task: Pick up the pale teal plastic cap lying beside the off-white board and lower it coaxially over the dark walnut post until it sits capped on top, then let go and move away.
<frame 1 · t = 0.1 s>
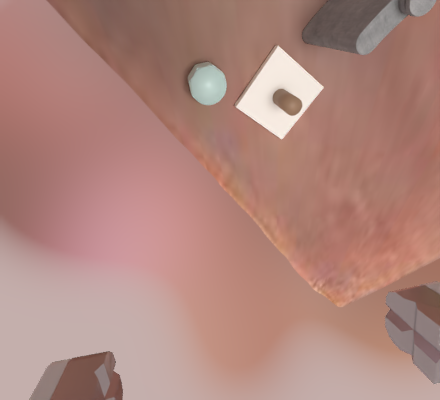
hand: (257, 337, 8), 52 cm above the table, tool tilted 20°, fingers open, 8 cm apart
post stand: (277, 95, 57), on the table
hip flask: (338, 4, 50), on the table
cap: (205, 81, 53), on the table
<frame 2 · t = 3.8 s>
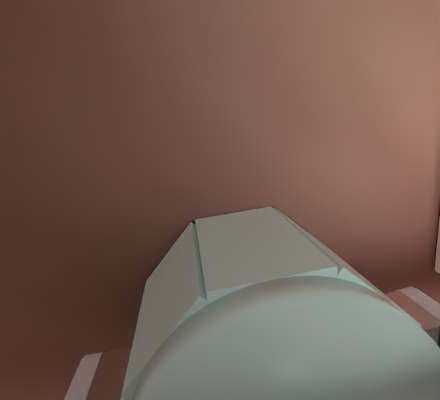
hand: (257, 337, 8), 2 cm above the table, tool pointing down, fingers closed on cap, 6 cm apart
cap: (243, 297, 10), on the table, touching gripper
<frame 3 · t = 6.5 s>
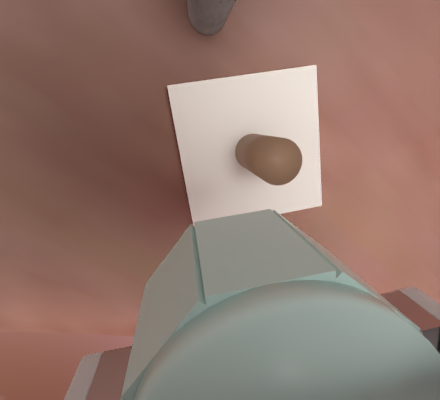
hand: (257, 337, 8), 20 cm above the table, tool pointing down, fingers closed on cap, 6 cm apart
post stand: (248, 150, 27), on the table
cap: (243, 299, 10), point 18 cm above the table, touching gripper
when the fingers open (8 cm above the table, at t = 9.3 s): cap drops 1 cm, resting on post stand.
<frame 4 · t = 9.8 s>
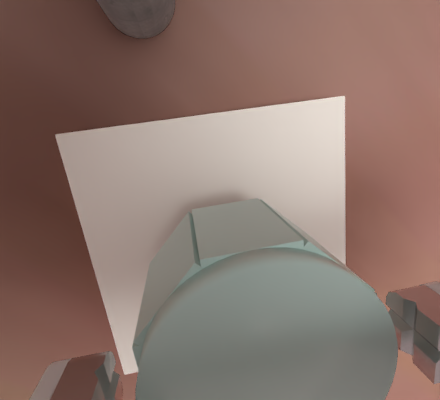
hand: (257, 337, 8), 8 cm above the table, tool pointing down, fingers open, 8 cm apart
post stand: (221, 235, 15), on the table
cap: (235, 278, 11), point 5 cm above the table, touching post stand
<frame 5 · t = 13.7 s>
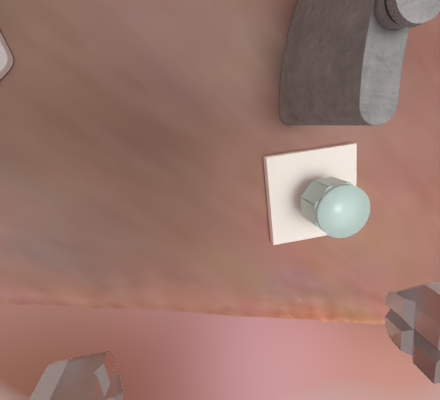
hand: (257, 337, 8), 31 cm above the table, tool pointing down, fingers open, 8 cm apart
post stand: (309, 193, 41), on the table
hip flask: (295, 62, 36), on the table
cap: (324, 201, 37), point 5 cm above the table, touching post stand
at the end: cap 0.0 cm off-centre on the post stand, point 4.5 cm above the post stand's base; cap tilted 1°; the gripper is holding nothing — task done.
